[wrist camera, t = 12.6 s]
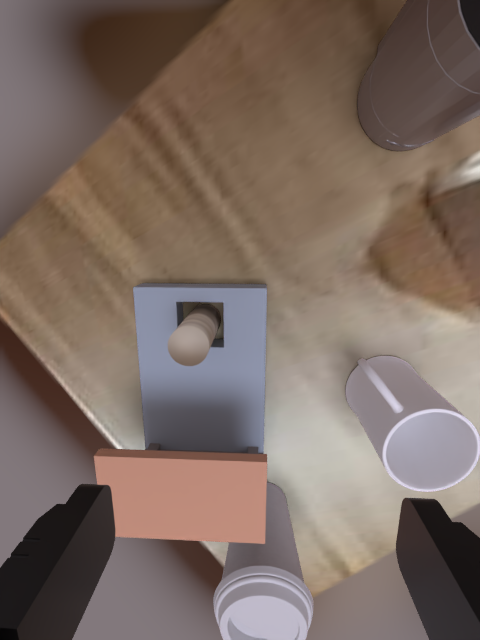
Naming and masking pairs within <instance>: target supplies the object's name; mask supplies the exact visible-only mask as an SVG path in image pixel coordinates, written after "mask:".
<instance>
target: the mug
mask: <svg viewBox="0 0 480 640" xmlns="http://www.w3.org/2000/svg"><path fill="white" fill-rule="evenodd" d="M357 363H358V366H357V367H356V368H355V369H354V370H353V371H352V373H351V374H350V376H349V378H348V380H347V383H346V390H345V392H346V399H347V402H348V404H349V406H350V408H351V409H352V411H353V412H354V413H355V414H356V415H357V417H358V419H359V420H360V422H361V424H362V426H363V428H364V430H365V432H366V433H367V435H368V437H369V439H370V441H371V443H372V445H373V446H374V448H375V450H376V452H377V454H378V456H379V458H380V459H381V461H382V463H383V465H384V467H385V469H386V470H387V472H388V473H389V475H390V476H391V477H392V478H393V479H394V480H395V481H396V482H397V483H399V484H400V485H402V486H404V487H406V488H409V489H412V490H416V491H423V492H431V491H438V490H443V489H446V488H449V487H451V486H453V485H455V484H457V483H459V482H460V481H462V480H463V479H464V478H465V477H466V476H467V475H468V474H469V473H470V472H471V471H472V470H473V468H474V467H475V465H476V463H477V461H478V459H479V455H480V437H479V434H478V432H477V430H476V428H475V427H474V425H473V424H472V423H471V422H470V421H469V420H468V419H467V418H466V417H465V416H464V415H463V414H461V413H460V412H459V411H458V410H457V409H456V408H455V407H454V406H453V405H451V404H450V403H449V402H448V401H447V400H446V399H445V398H444V397H442V396H441V395H440V394H439V393H438V392H437V391H436V390H435V389H433V388H432V387H431V386H430V385H429V384H428V383H427V382H426V381H424V380H423V379H422V378H421V377H420V376H419V375H418V374H417V373H416V371H415V370H414V368H413V367H412V366H411V365H410V364H409V363H407V362H406V361H404V360H402V359H400V358H397V357H394V356H377V357H373V358H370V359H368V360H365V359H364V358H361V359H359V360H358V361H357Z"/></svg>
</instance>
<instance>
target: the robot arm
mask: <svg viewBox="0 0 480 640" xmlns="http://www.w3.org/2000/svg"><path fill="white" fill-rule="evenodd" d="M357 107H358V116H359V119H360V122H361V125H362V127H363V129H364V131H365V132H366V134H367V135H368V136H369V137H370V138H371V140H372V141H373V142H375V143H376V144H378V145H379V146H381V147H383V148H386V149H389V150H394V151H406V150H412V149H415V148H418V147H421V146H422V145H424V144H427V143H429V142H431V141H433V140H434V139H436V138H438V137H439V136H442V135H443V134H445V133H447V132H449V131H451V130H453V129H455V128H457V127H459V126H460V125H462V124H464V123H466V122H468V121H470V120H472V119H474V118H476V117H477V116H479V115H480V0H407V1H406V3H405V4H404V6H403V8H402V9H401V11H400V12H399V14H398V15H397V17H396V18H395V20H394V22H393V23H392V25H391V26H390V28H389V29H388V31H387V33H386V34H385V36H384V37H383V39H382V40H381V42H380V44H379V45H378V51H377V56H376V58H375V59H374V61H373V62H372V64H371V65H370V67H369V68H368V70H367V71H366V74H365V76H364V78H363V80H362V82H361V85H360V89H359V92H358V102H357ZM114 541H115V520H114V511H113V502H112V493H111V488H110V486H109V485H95V484H81V485H79V486H78V487H77V489H76V490H75V491H74V493H73V494H72V495H71V497H70V498H69V500H68V501H67V502H66V504H56V505H55V506H54V507H53V508H52V509H50V510H49V511H48V512H46V513H45V514H44V515H43V516H41V517H40V518H39V519H38V520H37V521H36V522H35V524H34V525H33V526H32V527H31V529H30V530H29V531H28V533H27V534H26V535H25V536H24V538H23V541H22V542H20V543H19V544H18V546H17V547H16V548H15V550H14V551H13V552H12V553H11V557H10V558H8V559H7V560H6V561H5V562H4V564H3V565H2V566H1V568H0V640H72V638H73V636H74V634H75V632H76V630H77V627H78V625H79V623H80V621H81V619H82V616H83V614H84V612H85V610H86V608H87V606H88V603H89V601H90V599H91V597H92V595H93V592H94V590H95V588H96V586H97V584H98V582H99V579H100V577H101V575H102V573H103V571H104V568H105V566H106V564H107V562H108V560H109V557H110V555H111V552H112V549H113V546H114ZM396 553H397V559H398V564H399V568H400V571H401V573H402V575H403V578H404V580H405V583H406V585H407V587H408V590H409V592H410V595H411V597H412V599H413V602H414V604H415V606H416V609H417V611H418V614H419V616H420V619H421V621H422V623H423V626H424V628H425V630H426V633H427V635H428V637H429V640H480V538H479V537H478V536H477V535H475V534H474V533H473V532H472V531H471V530H469V529H468V528H467V527H466V526H465V525H464V524H463V523H461V522H452V521H451V520H450V518H449V517H448V515H447V514H446V512H445V511H444V509H443V508H442V506H441V505H440V503H439V502H438V501H437V500H435V499H422V498H404V499H403V501H402V506H401V513H400V520H399V527H398V534H397V541H396Z"/></svg>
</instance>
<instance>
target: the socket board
mask: <svg viewBox="0 0 480 640" xmlns="http://www.w3.org/2000/svg"><path fill="white" fill-rule="evenodd" d="M133 292H134V305H135V318H136V331H137V344H138V356H139V369H140V382H141V395H142V408H143V421H144V434H145V447H146V449H145V450H126V449H99V450H98V451H97V453H96V454H95V455H94V460H95V468H96V477H97V485H109V486H110V488H111V493H112V502H113V511H114V520H115V537H132V538H153V539H174V540H195V541H216V542H237V543H258V544H265V530H266V489H267V454H263V450H264V402H265V354H266V306H267V286H266V284H187V283H142V284H139V285H137V286H135V287H133ZM183 302H223V306H224V339H214V340H213V342H212V345H211V347H210V349H209V352H208V354H207V356H206V358H205V359H204V360H203V361H202V362H201V363H200V364H198V365H195V366H183V365H181V364H179V363H177V362H176V361H174V360H173V359H172V357H171V356H170V354H169V351H168V340H169V338H170V336H171V334H172V333H173V332H174V331H175V330H176V329H177V327H178V326H179V325H180V324H181V323H182V322H183Z"/></svg>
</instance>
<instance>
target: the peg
mask: <svg viewBox="0 0 480 640" xmlns="http://www.w3.org/2000/svg"><path fill="white" fill-rule="evenodd" d="M220 323H221V315H220V313H219V311H218V309H217V308H216V307H214V306H213V305H211V304H199V305H197V306H196V307H195V308H194V309H193V310H192V311H191V312H190V313H189V315H188V316H187V317H186V318H185V319H184V320H183V322H182V323H181V324H180V325H179V326H178V327H177V329H176V330H175V331H174V332H173V333H172V334H171V336H170V338H169V340H168V351H169V354H170V356H171V357H172V359H173V360H174V361H176V362H177V363H179V364H181V365H183V366H195V365H198V364H200V363H201V362H202V361H203V360H204V359H205V358H206V356H207V354H208V352H209V349H210V347H211V345H212V342H213V340H214V338H215V335H216V333H217V331H218V328H219V326H220Z"/></svg>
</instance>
